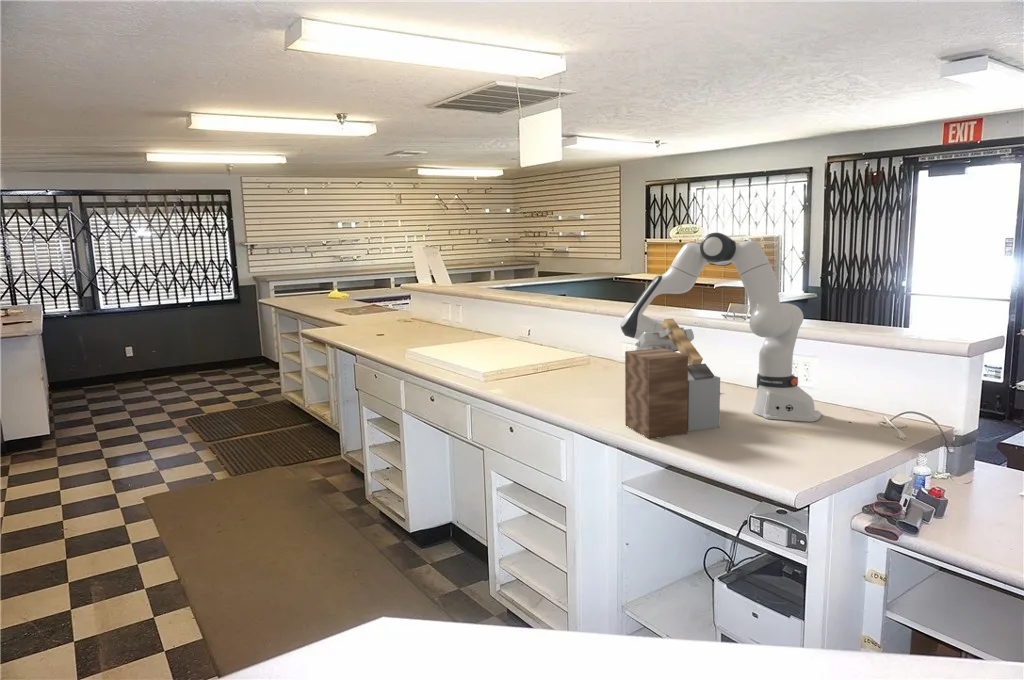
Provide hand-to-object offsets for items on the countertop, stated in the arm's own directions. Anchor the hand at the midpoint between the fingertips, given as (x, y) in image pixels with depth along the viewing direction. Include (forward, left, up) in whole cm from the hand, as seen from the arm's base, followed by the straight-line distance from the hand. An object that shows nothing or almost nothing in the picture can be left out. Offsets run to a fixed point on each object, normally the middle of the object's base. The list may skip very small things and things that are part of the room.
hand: (676, 329), depth 232 cm
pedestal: (0, +19, -31) cm, 37 cm away
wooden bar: (-4, +3, -7) cm, 9 cm away
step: (-8, +6, -31) cm, 33 cm away
